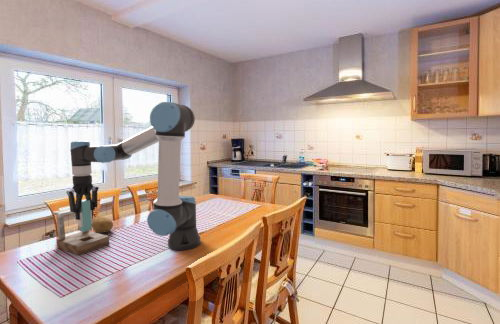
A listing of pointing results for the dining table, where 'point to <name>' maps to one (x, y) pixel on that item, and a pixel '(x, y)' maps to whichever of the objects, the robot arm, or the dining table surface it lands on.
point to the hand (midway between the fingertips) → (85, 224)
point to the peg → (86, 216)
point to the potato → (101, 224)
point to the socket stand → (78, 237)
